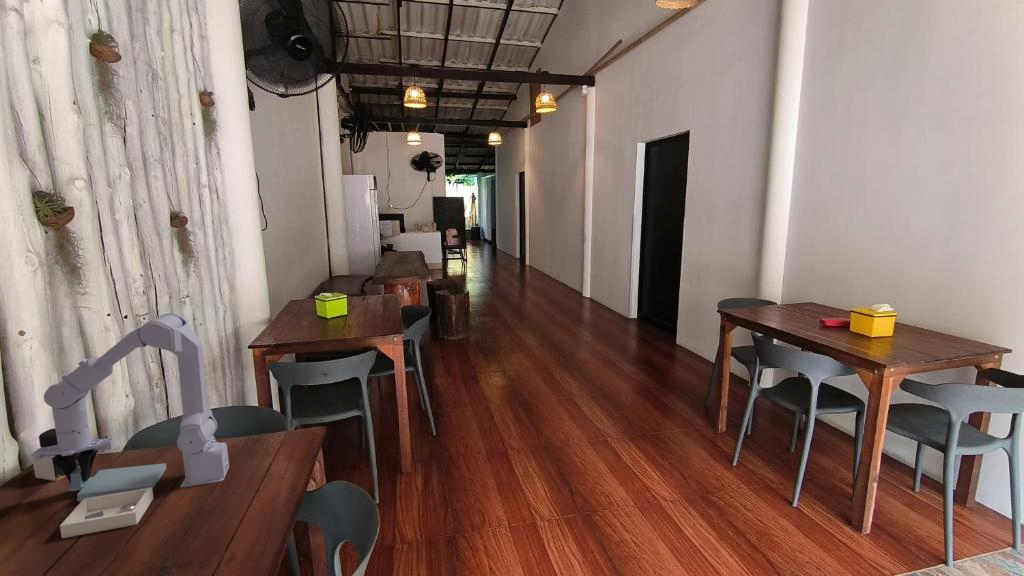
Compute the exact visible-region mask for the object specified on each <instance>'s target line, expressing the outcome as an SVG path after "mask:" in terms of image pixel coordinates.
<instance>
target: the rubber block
mask: <svg viewBox="0 0 1024 576" xmlns="http://www.w3.org/2000/svg"><path fill="white" fill-rule="evenodd" d="M101 516H104V515H103V511H100V512H97V513H94V514H91V515H87V516H85V519H90V518H96V517H101Z"/></svg>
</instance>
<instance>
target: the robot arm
mask: <svg viewBox="0 0 1024 576" xmlns="http://www.w3.org/2000/svg"><path fill="white" fill-rule="evenodd" d="M147 346H149V347H152V348H156V349H161V350H165V351H168V352H170V353H172V354H174V355H176V357H177V364H178V365H177V366H178V376H179V386H180V396H181V397H180V398H181V406H182V407H181V408H182V419H181V422H180V427H179V429H180V432H179V435H178V437H177V439H176V445H177V447H178V449H179V450H180V451H181V452H182V457H183V466H184V475H185V478H184V479H183V481H182V483H181V484H180V488H187V487H193V486H197V485H198V486H199V485H203V484H209V483H217V482H222V481H224V480H225V477H226V476H227V473H228V470H229V469H230V463H229V452H228V444H227V443H226V442H218V441H217V440H216V438H215V436H214V434H215V433H216V431H217V429H218V422H217V420H216V419H215V417H214V416H213V411H212V410H211V409H209V408H208V397H207V396H208V395H207V385H206V375H205V364H204V352H203V350H204V349H203V344H202V341H201V340H200V338H199V337H198V336H197V334H196V333H195V332H194V331H193V329H192V328H191V327H190V323H189V321H188V320H187V319H185V318H184V317H181V316H180V315H178V314H176V313H164V314H162V315H160V316H159V317H157V318H155V319H154V320H151V321H148V322H145V323H144V324H142V326H140V327H138V328H136V329H134V330H132V331H131V332H129V333H128V334H126V335H125V336H124V337H122V338H121V339H120V341H118V342H117V343H116V344H114V345H113V346H112V347H111V348H109V350H107V351H106V352H105V353H104V354H103V355H101V356H95V357H93V356H92V357H89V358H88V359H87V358H85V359H82V360H81V361H80V362H78V365H79V366H78V367H76V368H75V369H73V371H72V372H70V373H66V374H64V375H63V376H61V379H62V380H61V381H59V382H57V383H55V384H52V385H50V386H48V388H47V389H46V391H45V392H44V393H43V400H44V403H46V405H47V406H49V407H51V408H52V415H53V416H52V417H53V421H54V428H55V429H56V435H57V442H58V445H54V446H50V447H45V448H40V447H39V448H37V449H36V450H35V451H33V452H34V456H35V460H37V459H41V458H43V457H50V456H55V457H56V458H55V460H54V461H53V463H54V465H56V466H57V467H58V468H60V469H61V470H62V471H63V472H64V474H65V475H66V478H67V480H68V482H69V483H70V484H71V477H70V474H71V473H72V472H73V471H74V470H75V469H76V468H77V466H76V460H77V461H78V463H79V466H80V469H81V474H82V480H83V481H87V480H88V479H89V478H90V477H92V476H91V475H92V468H93V464H94V462H95V459H96V456H97V454H98V453H99V450H101V451H102V450H112V449H113V448H114V447H115V446H116V443H115V439H114V438H105V439H104V438H99V439H98V438H92V437H91V432H90V426H89V418H88V417H89V416H88V411H87V405H86V402H87V401H86V396H87V395H88V394H89V393H90V391H91V390H93V389H94V388H96V387H97V385H99V384H101V383H102V382H103V381H104V380H106V379H107V378H109V376H111V375H112V374H113V371H114V369H113V367H114V365H116V364H117V363H118V362H120V361H121V360H122V359H123V358H125V357H127V356H128V355H129V354H131V353H132V352H133V351H134V350H136V349H137V348H145V347H147ZM79 452H81V454H80V455H79V456H78V457H77V458H76V453H79Z"/></svg>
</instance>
